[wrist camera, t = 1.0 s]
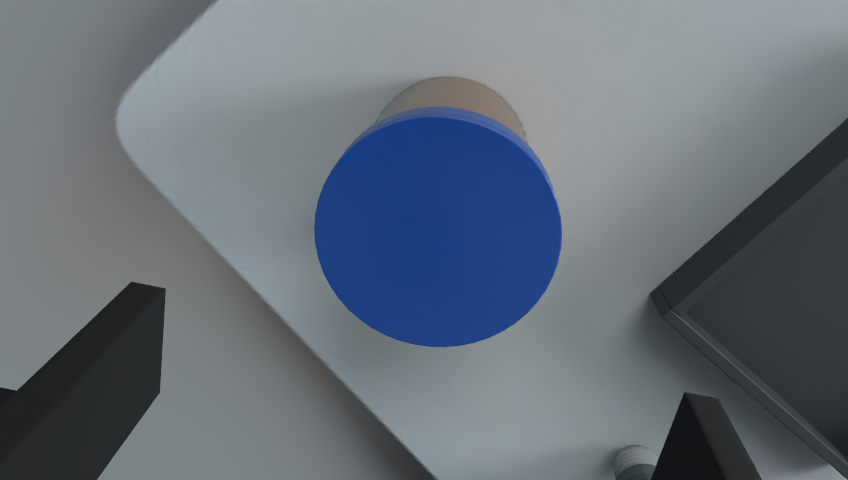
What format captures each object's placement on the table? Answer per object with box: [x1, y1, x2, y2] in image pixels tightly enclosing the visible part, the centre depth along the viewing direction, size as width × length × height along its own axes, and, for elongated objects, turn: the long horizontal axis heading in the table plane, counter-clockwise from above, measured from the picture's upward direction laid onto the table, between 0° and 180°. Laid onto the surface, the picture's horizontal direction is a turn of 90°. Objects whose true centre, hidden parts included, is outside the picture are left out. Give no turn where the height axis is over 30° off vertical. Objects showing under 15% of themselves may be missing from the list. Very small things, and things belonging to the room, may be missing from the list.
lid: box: [314, 107, 562, 347], centre depth 26 cm, size 9×8×2 cm
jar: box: [375, 77, 528, 145], centre depth 30 cm, size 8×8×10 cm
